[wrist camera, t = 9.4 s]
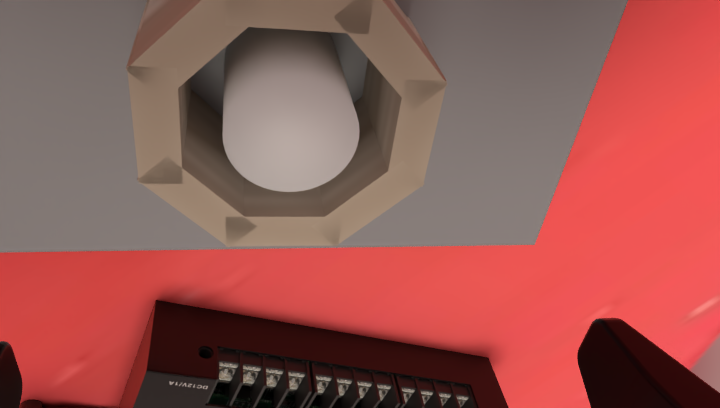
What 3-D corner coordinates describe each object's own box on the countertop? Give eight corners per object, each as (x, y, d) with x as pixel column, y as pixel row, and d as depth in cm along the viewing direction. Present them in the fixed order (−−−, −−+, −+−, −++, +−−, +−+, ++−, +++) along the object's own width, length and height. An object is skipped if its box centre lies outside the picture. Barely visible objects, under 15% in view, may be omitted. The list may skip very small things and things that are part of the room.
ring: (383, 166, 20) (410, 245, 17) (158, 161, 19) (144, 248, 16) (423, -59, 16) (469, -7, 13) (139, -86, 15) (114, -35, 12)
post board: (520, 220, 25) (579, 323, 21) (-27, 223, 21) (-94, 351, 17) (663, -185, 17) (813, -154, 12) (-198, -308, 13) (-421, -325, 8)
